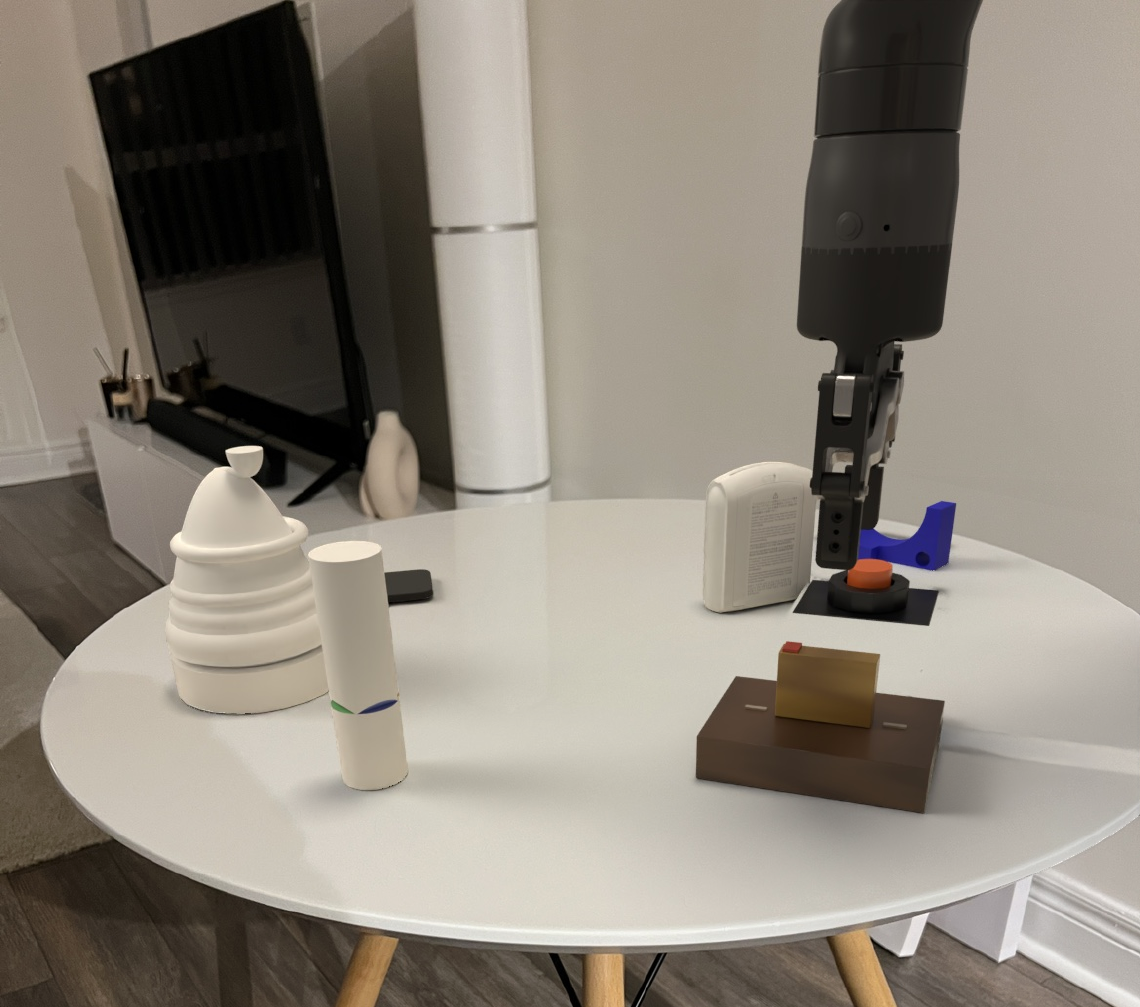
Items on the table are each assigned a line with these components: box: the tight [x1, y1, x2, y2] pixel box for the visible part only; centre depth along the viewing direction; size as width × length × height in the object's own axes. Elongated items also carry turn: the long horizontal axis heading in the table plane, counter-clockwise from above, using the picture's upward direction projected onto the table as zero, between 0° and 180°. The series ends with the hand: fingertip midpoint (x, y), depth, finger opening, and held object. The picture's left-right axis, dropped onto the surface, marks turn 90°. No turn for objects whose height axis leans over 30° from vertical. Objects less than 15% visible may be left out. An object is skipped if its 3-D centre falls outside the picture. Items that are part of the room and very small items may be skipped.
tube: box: [307, 540, 409, 791], centre depth 67 cm, size 4×4×15 cm
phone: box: [384, 568, 434, 603], centre depth 103 cm, size 7×1×15 cm
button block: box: [792, 570, 940, 627], centre depth 91 cm, size 11×9×4 cm
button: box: [847, 559, 894, 589], centre depth 90 cm, size 4×4×2 cm
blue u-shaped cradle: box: [858, 500, 957, 572], centre depth 106 cm, size 12×4×6 cm, turn 46°
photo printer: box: [702, 461, 818, 613], centre depth 95 cm, size 10×4×12 cm, turn 115°
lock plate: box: [695, 675, 946, 814], centre depth 69 cm, size 14×10×3 cm
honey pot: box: [164, 445, 329, 715], centre depth 81 cm, size 13×13×18 cm
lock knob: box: [775, 640, 881, 728], centre depth 67 cm, size 6×2×5 cm, turn 68°
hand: (848, 546), depth 62 cm, fingers open, 8 cm apart
